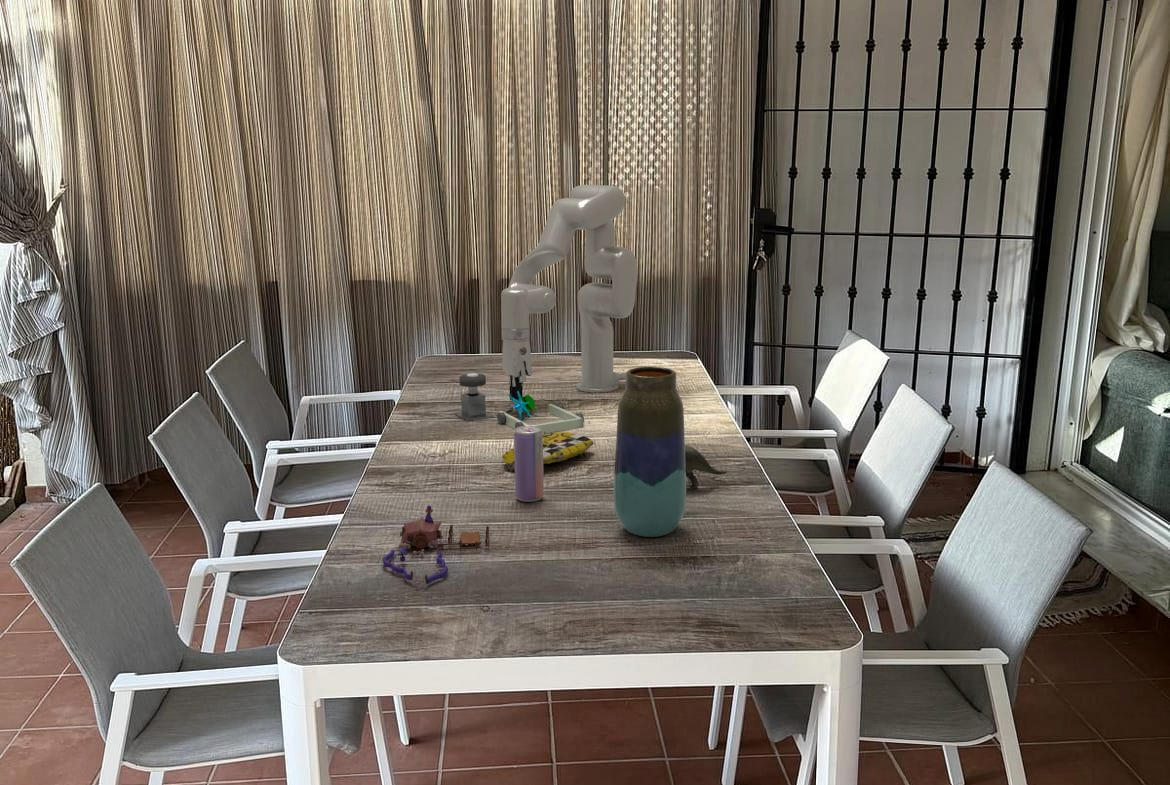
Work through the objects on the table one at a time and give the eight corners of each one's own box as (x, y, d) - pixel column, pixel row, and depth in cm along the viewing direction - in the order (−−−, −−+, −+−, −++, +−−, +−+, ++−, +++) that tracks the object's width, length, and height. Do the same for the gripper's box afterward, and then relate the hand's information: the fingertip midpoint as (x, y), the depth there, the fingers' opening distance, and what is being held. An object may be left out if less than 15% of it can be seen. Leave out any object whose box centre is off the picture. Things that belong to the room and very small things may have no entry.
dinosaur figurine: (727, 487, 224) (729, 437, 221) (719, 500, 216) (721, 448, 213) (630, 477, 231) (630, 429, 228) (619, 489, 223) (619, 439, 220)
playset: (488, 583, 177) (487, 545, 176) (376, 588, 176) (374, 549, 174) (489, 530, 201) (488, 496, 200) (390, 533, 200) (389, 499, 198)
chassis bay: (555, 411, 286) (555, 401, 286) (587, 427, 271) (587, 416, 270) (494, 420, 278) (493, 410, 277) (523, 437, 262) (523, 425, 262)
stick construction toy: (523, 418, 274) (510, 392, 275) (503, 429, 277) (490, 403, 278) (543, 411, 285) (530, 386, 286) (524, 422, 288) (511, 397, 288)
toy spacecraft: (486, 466, 240) (486, 445, 239) (550, 443, 258) (549, 424, 257) (542, 480, 230) (541, 458, 229) (603, 455, 248) (603, 435, 247)
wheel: (479, 388, 286) (479, 370, 285) (490, 393, 280) (489, 375, 279) (456, 391, 282) (455, 373, 281) (466, 397, 276) (465, 378, 275)
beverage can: (522, 504, 214) (520, 434, 211) (510, 495, 219) (509, 427, 216) (548, 499, 217) (547, 430, 213) (536, 491, 222) (535, 423, 219)
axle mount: (481, 410, 288) (480, 389, 287) (493, 417, 281) (492, 395, 280) (454, 414, 284) (453, 393, 283) (465, 421, 277) (465, 399, 276)
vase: (664, 548, 191) (666, 383, 183) (600, 534, 198) (599, 374, 191) (697, 525, 202) (701, 368, 195) (635, 512, 209) (636, 360, 202)
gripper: (539, 337, 275) (540, 404, 279) (516, 328, 288) (517, 393, 292) (514, 339, 272) (514, 407, 276) (491, 330, 285) (492, 395, 289)
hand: (516, 399), depth 284 cm, fingers closed
